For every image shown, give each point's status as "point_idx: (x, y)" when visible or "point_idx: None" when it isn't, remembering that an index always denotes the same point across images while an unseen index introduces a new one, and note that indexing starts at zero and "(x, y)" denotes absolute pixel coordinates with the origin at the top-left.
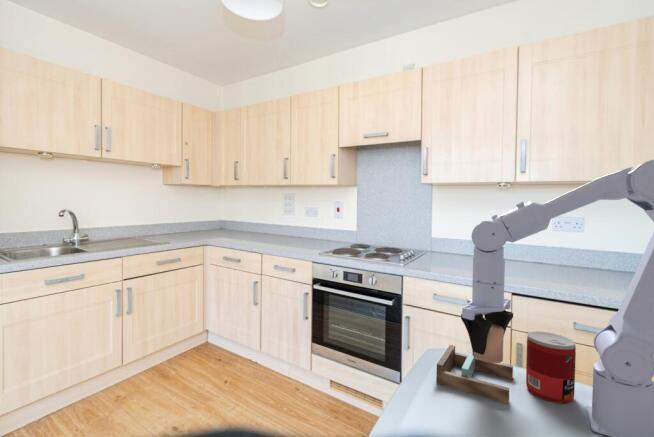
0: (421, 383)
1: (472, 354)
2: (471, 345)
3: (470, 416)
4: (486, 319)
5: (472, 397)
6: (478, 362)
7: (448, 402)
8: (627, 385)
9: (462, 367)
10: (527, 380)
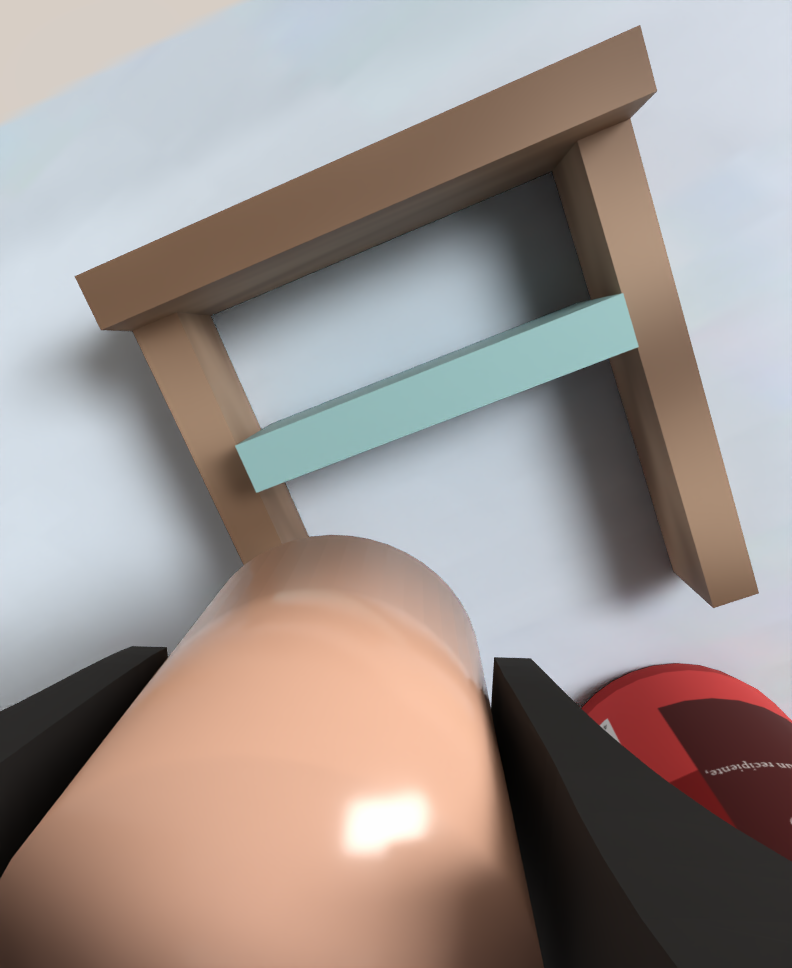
0: (52, 227)
1: (248, 562)
2: (87, 670)
3: (42, 624)
4: (601, 890)
5: (218, 535)
6: (633, 365)
7: (39, 483)
8: None
9: (251, 443)
10: (616, 718)
